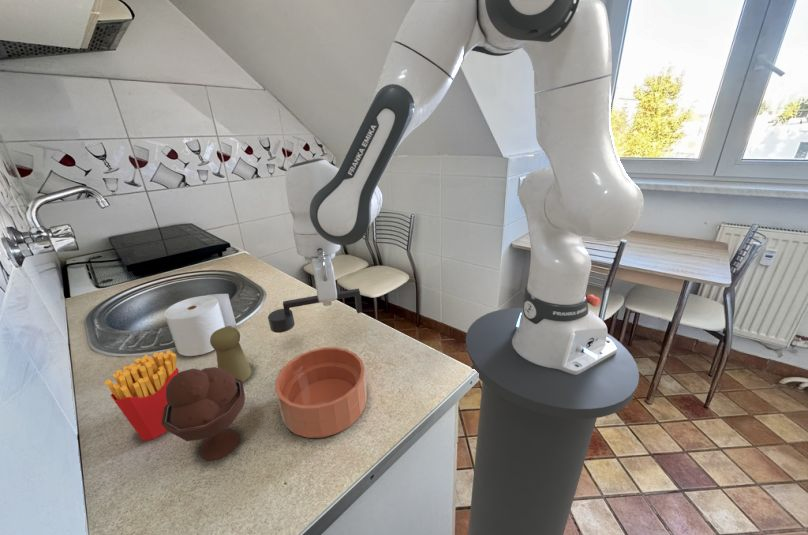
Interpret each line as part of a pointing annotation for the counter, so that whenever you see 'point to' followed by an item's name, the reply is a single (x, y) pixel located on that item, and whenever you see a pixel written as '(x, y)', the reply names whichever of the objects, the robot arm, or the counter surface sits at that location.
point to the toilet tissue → (198, 322)
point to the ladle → (284, 317)
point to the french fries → (144, 392)
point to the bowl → (321, 392)
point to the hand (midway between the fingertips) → (326, 301)
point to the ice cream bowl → (204, 409)
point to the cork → (230, 352)
